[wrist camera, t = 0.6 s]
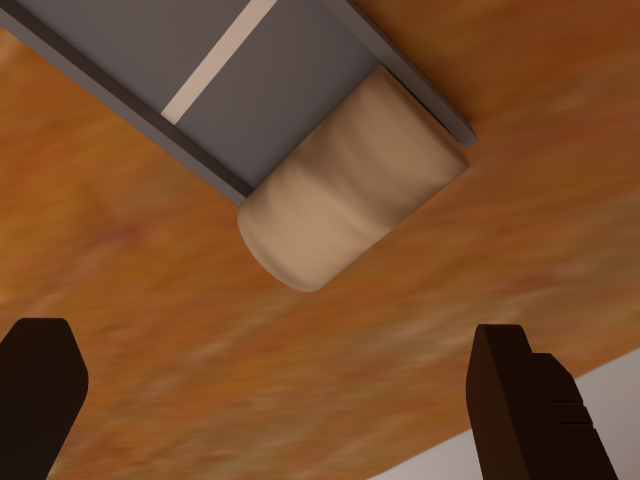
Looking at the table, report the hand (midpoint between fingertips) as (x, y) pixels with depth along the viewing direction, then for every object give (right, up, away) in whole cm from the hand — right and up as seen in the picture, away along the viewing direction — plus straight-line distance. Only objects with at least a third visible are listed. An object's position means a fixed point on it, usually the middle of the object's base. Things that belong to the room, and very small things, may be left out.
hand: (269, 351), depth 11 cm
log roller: (+3, +8, +23) cm, 24 cm away
